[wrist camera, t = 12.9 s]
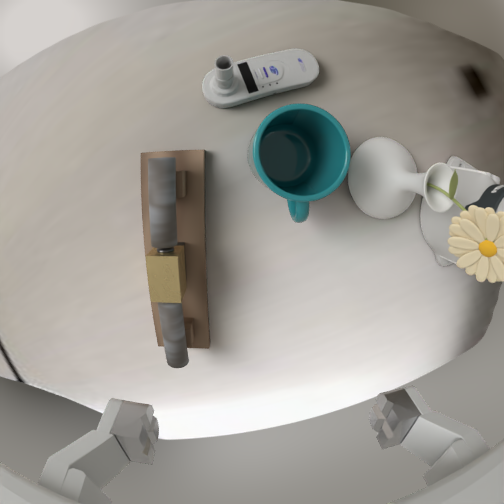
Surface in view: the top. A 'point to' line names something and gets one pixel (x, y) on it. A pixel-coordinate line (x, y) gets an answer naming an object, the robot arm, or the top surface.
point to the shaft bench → (188, 234)
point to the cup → (300, 155)
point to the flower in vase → (437, 197)
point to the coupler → (166, 274)
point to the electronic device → (258, 76)
